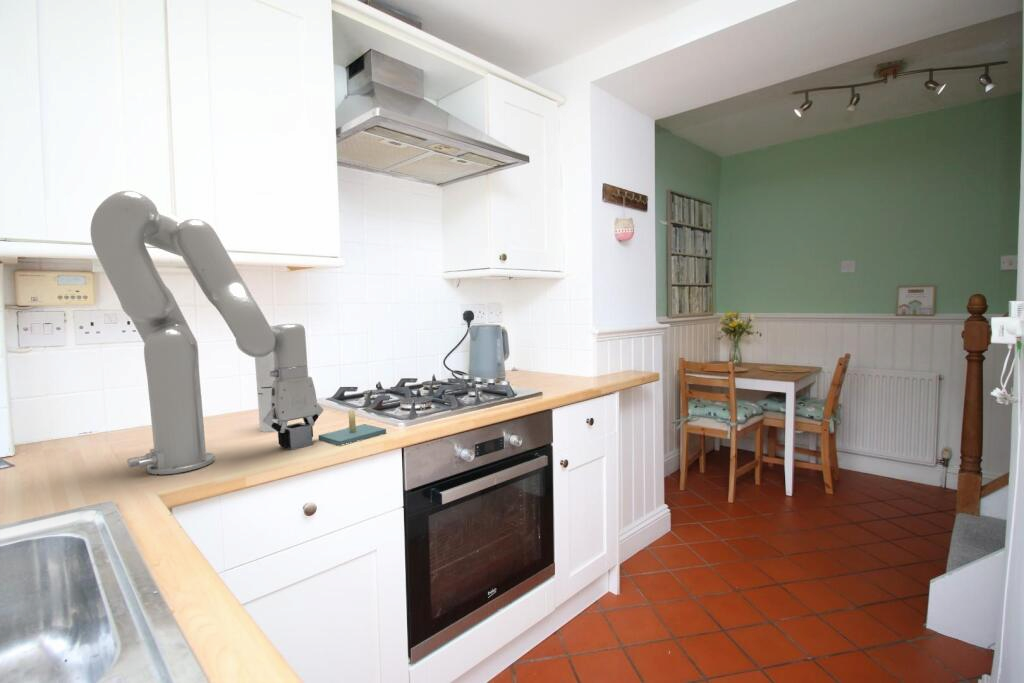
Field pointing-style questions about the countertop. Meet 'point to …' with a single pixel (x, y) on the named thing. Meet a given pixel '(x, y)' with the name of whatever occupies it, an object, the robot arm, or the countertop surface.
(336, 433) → the teal peg base
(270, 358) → the grey piece
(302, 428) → the grey square nut block
